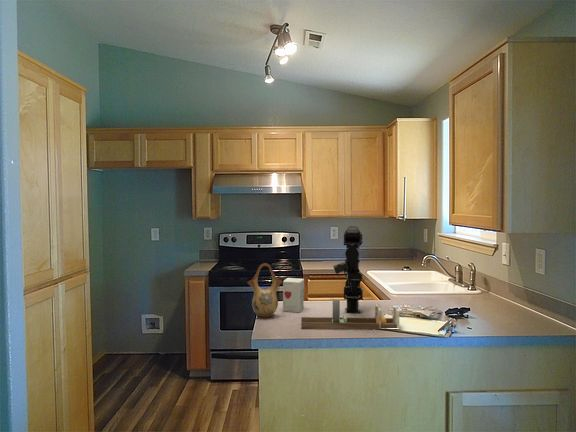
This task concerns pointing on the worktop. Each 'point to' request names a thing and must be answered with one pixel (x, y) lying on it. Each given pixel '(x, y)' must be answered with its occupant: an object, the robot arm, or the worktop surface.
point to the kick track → (353, 322)
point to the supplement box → (293, 294)
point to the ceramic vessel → (264, 295)
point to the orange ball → (381, 320)
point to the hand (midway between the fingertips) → (352, 291)
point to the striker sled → (337, 313)
